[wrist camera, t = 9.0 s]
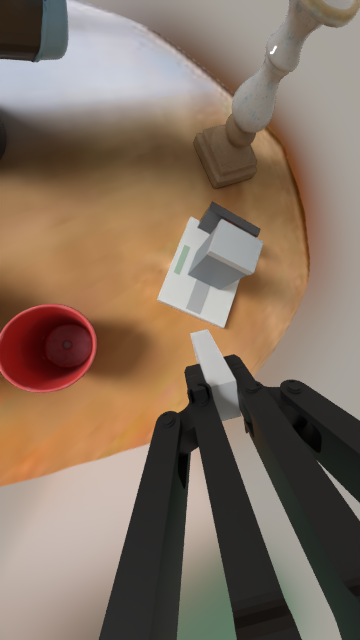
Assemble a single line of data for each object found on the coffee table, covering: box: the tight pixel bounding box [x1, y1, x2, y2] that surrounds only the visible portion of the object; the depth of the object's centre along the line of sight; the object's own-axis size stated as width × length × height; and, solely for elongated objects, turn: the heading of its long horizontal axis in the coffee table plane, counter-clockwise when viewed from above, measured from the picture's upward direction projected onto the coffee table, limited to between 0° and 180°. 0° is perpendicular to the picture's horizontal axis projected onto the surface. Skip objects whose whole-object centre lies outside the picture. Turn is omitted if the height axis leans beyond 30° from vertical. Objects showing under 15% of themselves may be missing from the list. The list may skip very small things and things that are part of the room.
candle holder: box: [193, 0, 360, 188], centre depth 33 cm, size 11×11×24 cm
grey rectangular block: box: [188, 219, 264, 290], centre depth 34 cm, size 5×7×11 cm
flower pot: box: [0, 304, 97, 393], centre depth 29 cm, size 11×11×10 cm
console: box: [156, 202, 260, 328], centre depth 37 cm, size 18×14×8 cm
